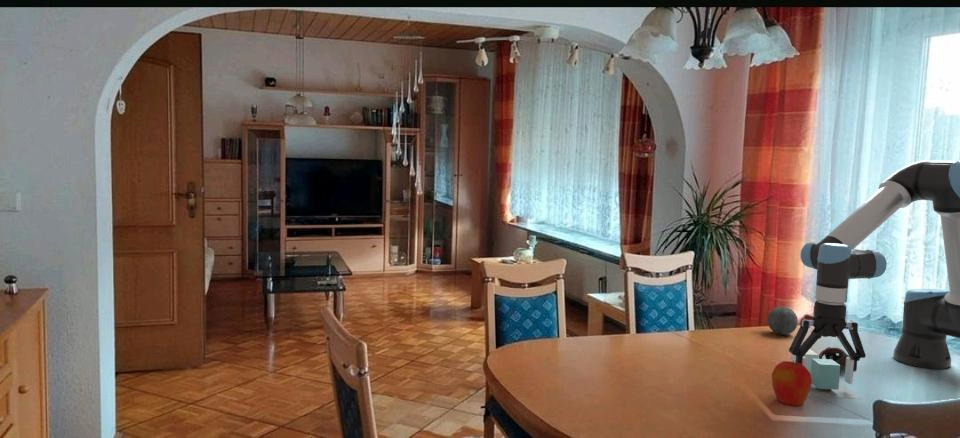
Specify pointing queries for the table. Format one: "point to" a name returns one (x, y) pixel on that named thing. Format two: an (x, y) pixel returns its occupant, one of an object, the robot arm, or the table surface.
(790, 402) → the apple
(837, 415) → the table surface
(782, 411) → the table surface
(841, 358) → the dark brown curved piece
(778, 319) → the decorative ball
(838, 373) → the pale aqua cube
